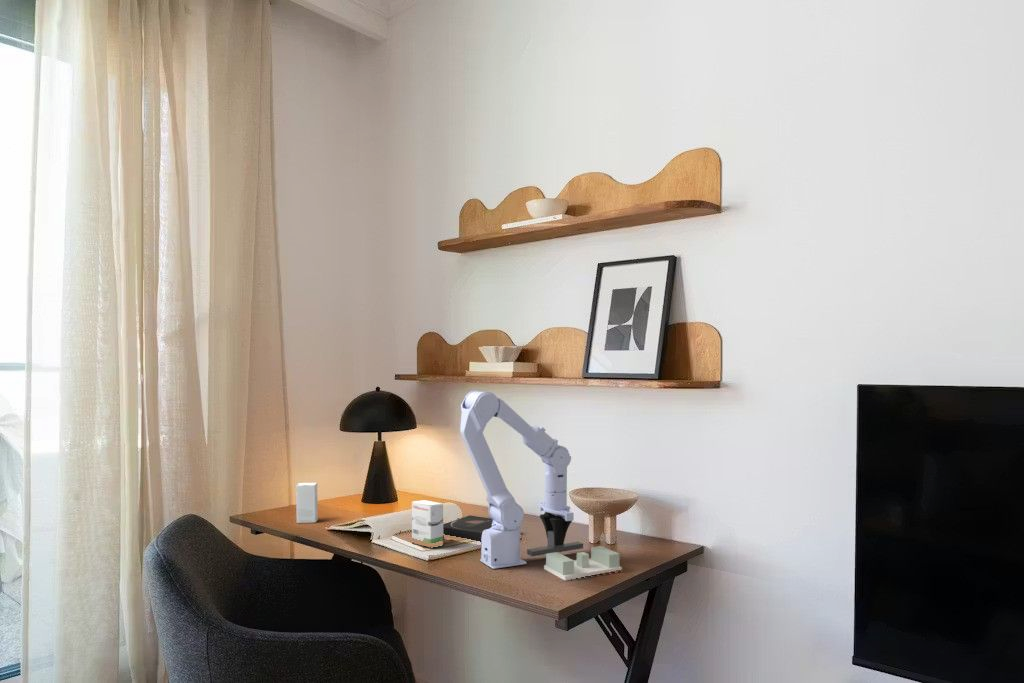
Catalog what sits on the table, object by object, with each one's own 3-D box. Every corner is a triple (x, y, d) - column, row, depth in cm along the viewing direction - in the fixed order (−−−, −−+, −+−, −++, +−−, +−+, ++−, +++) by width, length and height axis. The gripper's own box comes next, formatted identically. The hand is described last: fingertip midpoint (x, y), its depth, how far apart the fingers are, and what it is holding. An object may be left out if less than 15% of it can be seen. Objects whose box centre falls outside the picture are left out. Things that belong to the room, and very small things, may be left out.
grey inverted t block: (532, 556, 173) (532, 536, 174) (526, 553, 176) (526, 534, 176) (583, 548, 182) (583, 529, 182) (577, 545, 184) (577, 527, 184)
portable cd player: (467, 528, 212) (467, 515, 212) (515, 535, 203) (515, 521, 203) (435, 539, 197) (435, 526, 198) (485, 548, 189) (485, 533, 189)
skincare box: (318, 520, 220) (318, 482, 221) (315, 523, 216) (315, 484, 216) (298, 520, 219) (298, 482, 220) (295, 523, 215) (295, 484, 215)
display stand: (565, 580, 159) (565, 563, 159) (544, 569, 168) (544, 552, 168) (621, 571, 166) (621, 554, 166) (598, 560, 175) (598, 544, 175)
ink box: (444, 546, 189) (444, 502, 190) (430, 549, 186) (430, 505, 186) (424, 540, 195) (424, 498, 195) (410, 543, 191) (410, 501, 192)
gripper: (583, 494, 175) (583, 548, 174) (555, 485, 188) (554, 535, 187) (559, 496, 171) (559, 551, 171) (532, 487, 184) (532, 538, 184)
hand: (555, 543), depth 179 cm, fingers closed on grey inverted t block, 3 cm apart
